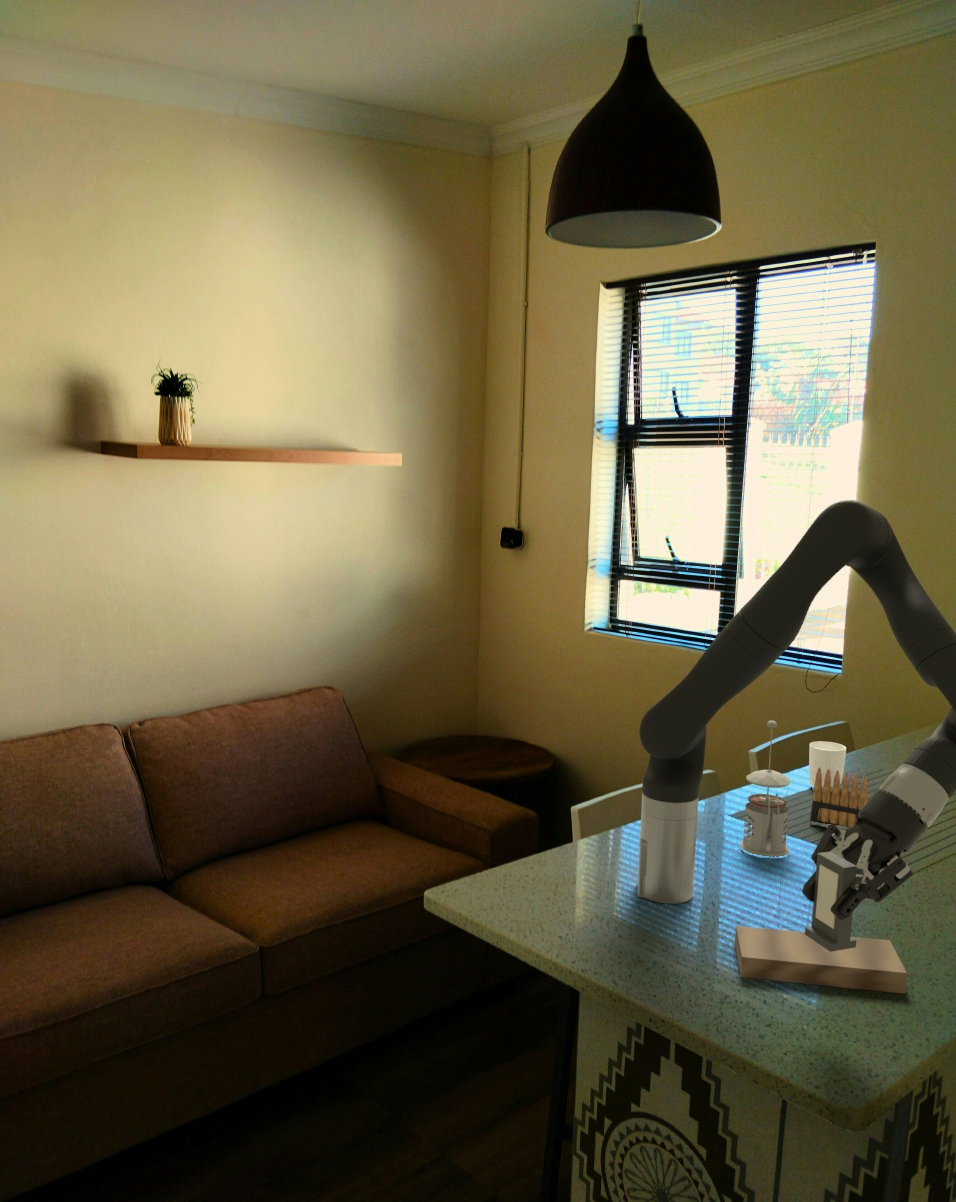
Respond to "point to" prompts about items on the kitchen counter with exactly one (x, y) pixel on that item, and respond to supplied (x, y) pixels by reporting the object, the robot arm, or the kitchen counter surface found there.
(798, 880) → the kitchen counter surface
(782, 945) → the wooden block
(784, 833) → the french press
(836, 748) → the white cup
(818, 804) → the ammunition clip
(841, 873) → the picture frame
